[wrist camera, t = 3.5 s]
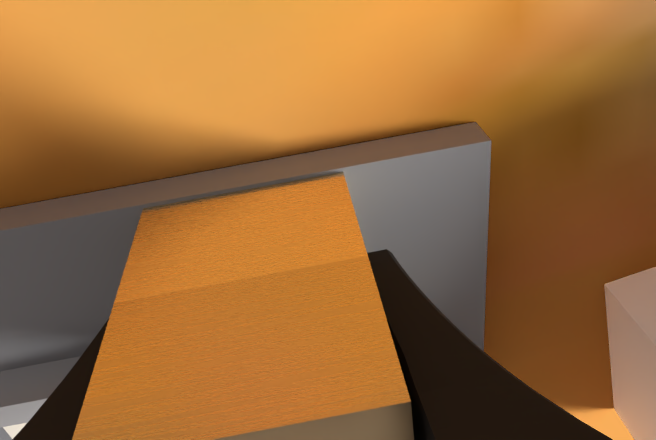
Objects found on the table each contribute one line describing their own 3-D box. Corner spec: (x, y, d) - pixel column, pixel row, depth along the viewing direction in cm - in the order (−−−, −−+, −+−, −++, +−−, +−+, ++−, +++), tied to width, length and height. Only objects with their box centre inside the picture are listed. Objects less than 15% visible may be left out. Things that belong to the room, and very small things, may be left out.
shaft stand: (475, 121, 13) (553, 213, 9) (470, 410, 19) (515, 523, 16) (-346, 272, 12) (-559, 420, 9) (-72, 514, 18) (-141, 653, 15)
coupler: (343, 171, 12) (421, 437, 6) (363, 315, 14) (432, 593, 9) (142, 208, 12) (50, 509, 6) (198, 346, 14) (167, 645, 9)
